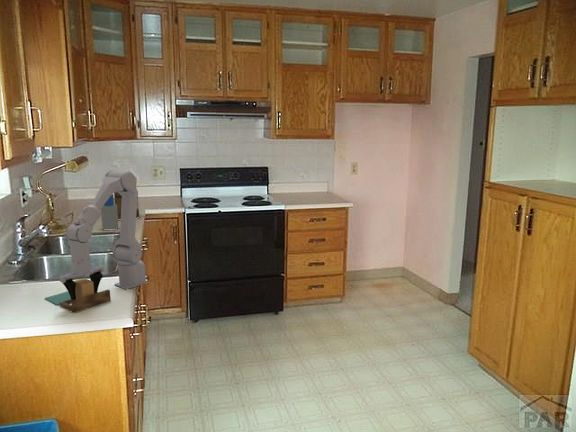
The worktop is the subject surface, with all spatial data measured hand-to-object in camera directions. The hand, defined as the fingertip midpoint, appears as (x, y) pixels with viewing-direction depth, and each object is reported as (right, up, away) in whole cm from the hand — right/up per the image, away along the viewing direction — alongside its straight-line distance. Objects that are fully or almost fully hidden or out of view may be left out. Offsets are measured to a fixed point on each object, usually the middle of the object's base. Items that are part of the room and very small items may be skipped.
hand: (84, 296), depth 156 cm
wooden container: (-35, +26, +141) cm, 148 cm away
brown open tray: (0, -2, 0) cm, 2 cm away
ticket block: (0, -2, 0) cm, 2 cm away
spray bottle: (-34, +20, +110) cm, 117 cm away
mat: (-8, -1, +6) cm, 10 cm away
